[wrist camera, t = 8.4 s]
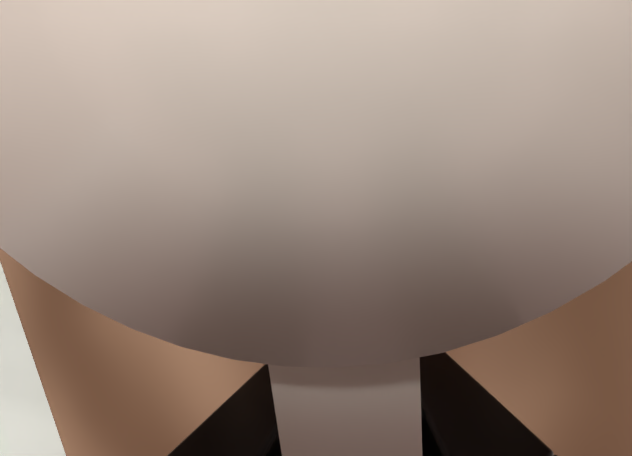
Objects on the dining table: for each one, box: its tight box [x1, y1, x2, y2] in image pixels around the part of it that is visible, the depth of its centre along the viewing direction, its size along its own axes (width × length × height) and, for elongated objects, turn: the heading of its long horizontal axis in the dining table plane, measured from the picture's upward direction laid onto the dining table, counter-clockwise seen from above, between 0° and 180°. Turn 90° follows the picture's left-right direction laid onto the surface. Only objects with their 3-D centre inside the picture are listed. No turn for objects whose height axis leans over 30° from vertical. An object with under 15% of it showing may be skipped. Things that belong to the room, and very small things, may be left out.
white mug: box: [0, 0, 632, 456], centre depth 8 cm, size 10×6×9 cm, turn 6°
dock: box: [0, 248, 632, 456], centre depth 12 cm, size 20×20×4 cm
